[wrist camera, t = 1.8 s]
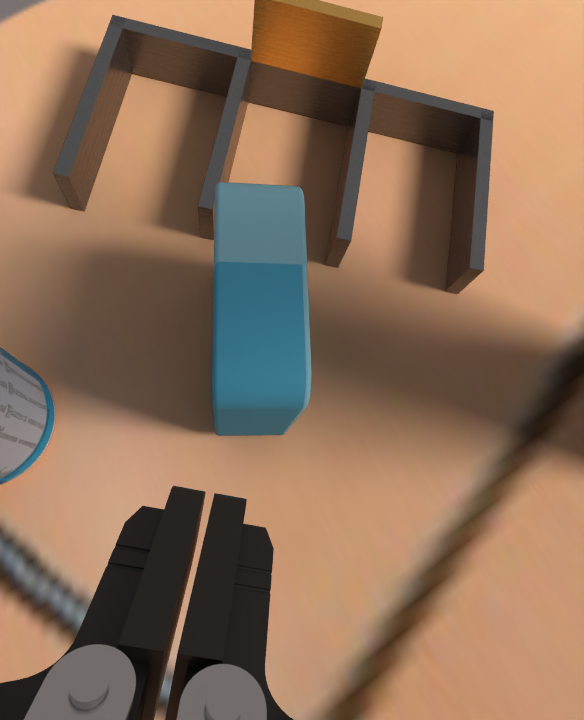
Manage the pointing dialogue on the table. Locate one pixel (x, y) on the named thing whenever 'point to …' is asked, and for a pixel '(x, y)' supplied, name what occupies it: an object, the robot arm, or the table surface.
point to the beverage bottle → (22, 417)
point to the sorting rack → (289, 109)
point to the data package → (260, 309)
